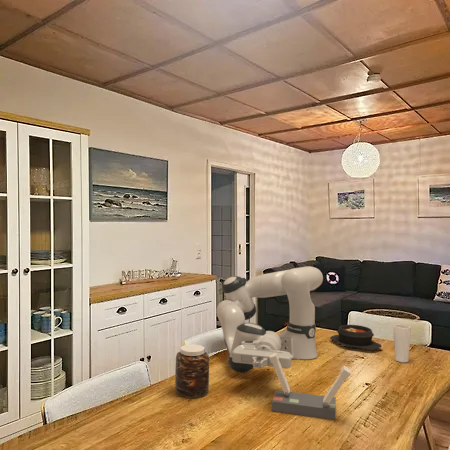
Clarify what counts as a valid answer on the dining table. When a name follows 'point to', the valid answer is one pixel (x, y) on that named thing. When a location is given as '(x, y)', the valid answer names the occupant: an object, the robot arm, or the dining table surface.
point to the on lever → (336, 385)
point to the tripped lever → (280, 373)
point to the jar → (192, 372)
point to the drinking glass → (402, 342)
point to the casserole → (356, 337)
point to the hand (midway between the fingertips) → (257, 365)
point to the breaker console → (303, 405)
